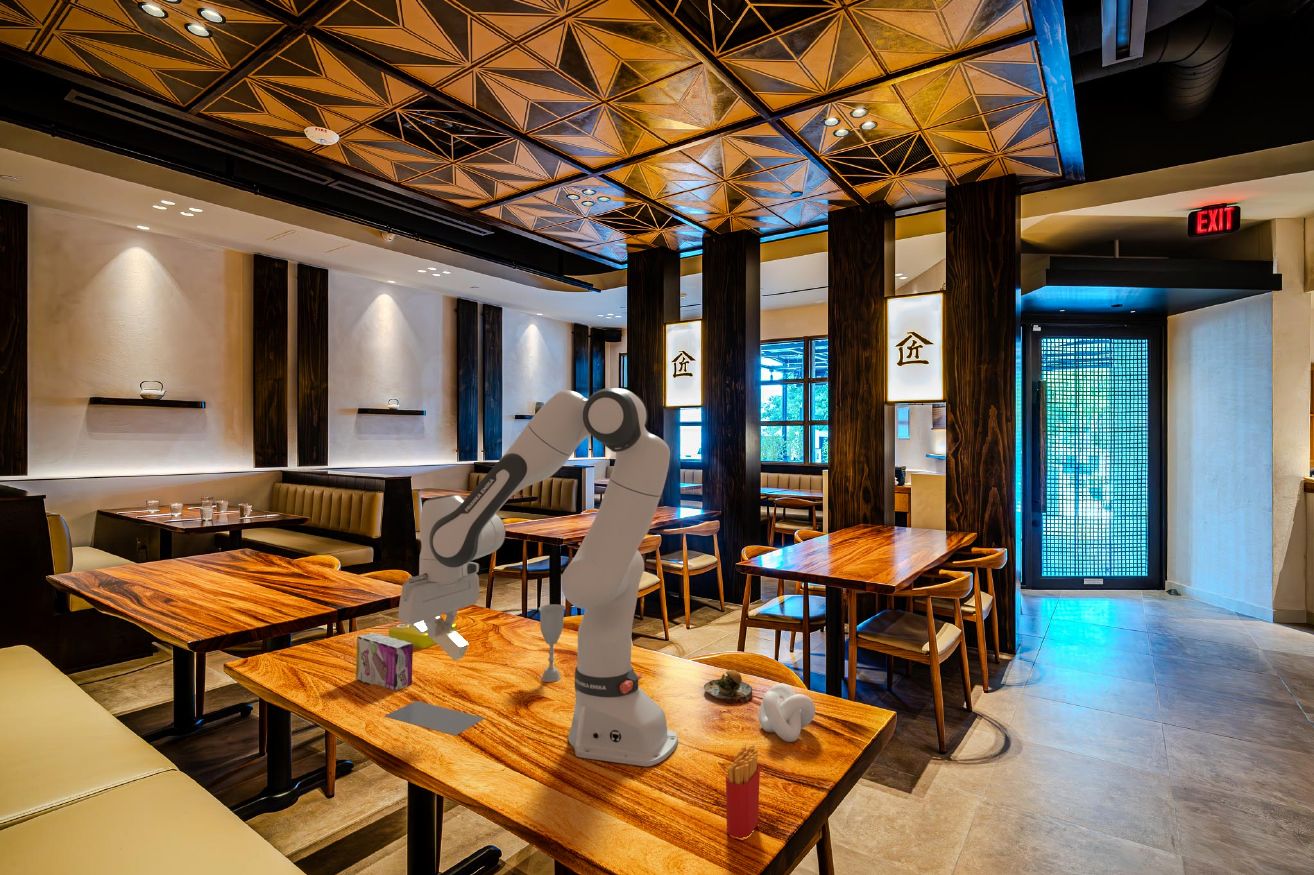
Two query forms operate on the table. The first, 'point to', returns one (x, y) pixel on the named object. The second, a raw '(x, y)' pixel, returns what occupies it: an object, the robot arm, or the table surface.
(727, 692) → the burger
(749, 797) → the french fries
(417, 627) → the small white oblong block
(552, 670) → the chalice
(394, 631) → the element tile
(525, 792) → the table surface
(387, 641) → the candy bar box
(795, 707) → the white knot sculpture
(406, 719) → the plate
